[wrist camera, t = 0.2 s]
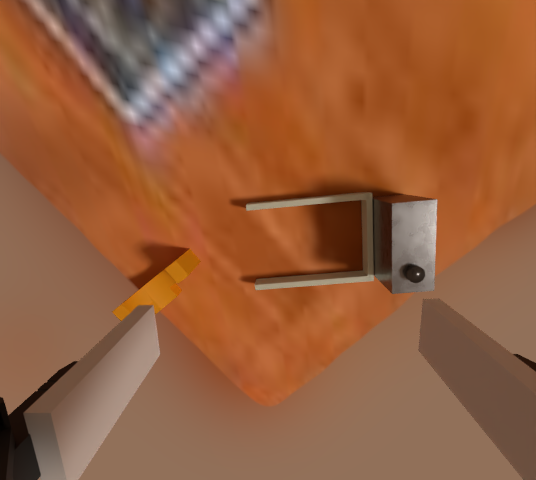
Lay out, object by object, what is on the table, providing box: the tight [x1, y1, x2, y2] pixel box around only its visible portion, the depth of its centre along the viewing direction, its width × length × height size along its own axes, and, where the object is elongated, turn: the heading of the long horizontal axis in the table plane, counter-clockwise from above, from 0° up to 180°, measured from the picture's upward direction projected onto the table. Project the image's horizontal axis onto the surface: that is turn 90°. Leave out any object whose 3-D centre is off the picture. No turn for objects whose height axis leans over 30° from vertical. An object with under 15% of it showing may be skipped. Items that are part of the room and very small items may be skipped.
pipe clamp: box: [113, 249, 201, 321], centre depth 42 cm, size 12×4×6 cm, turn 129°
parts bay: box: [246, 192, 374, 290], centre depth 42 cm, size 13×17×2 cm
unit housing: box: [372, 194, 437, 294], centre depth 38 cm, size 11×5×10 cm, turn 5°
